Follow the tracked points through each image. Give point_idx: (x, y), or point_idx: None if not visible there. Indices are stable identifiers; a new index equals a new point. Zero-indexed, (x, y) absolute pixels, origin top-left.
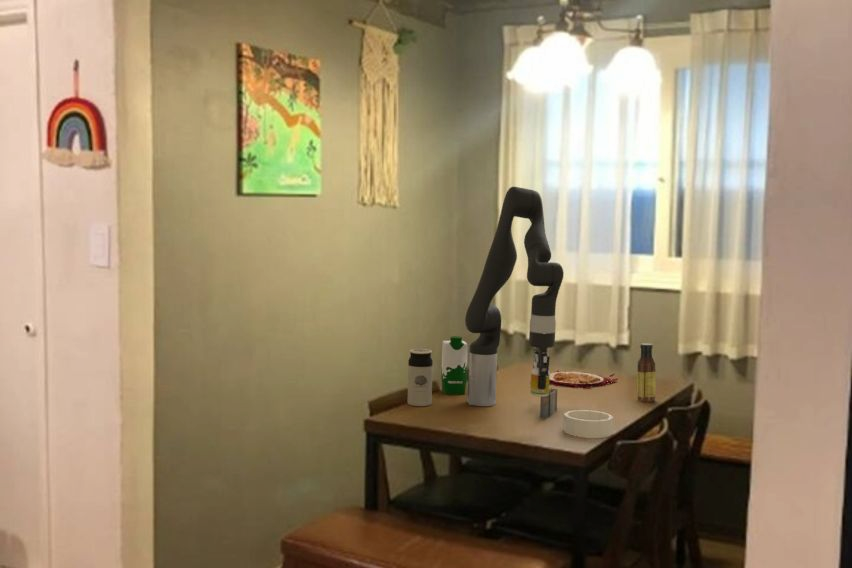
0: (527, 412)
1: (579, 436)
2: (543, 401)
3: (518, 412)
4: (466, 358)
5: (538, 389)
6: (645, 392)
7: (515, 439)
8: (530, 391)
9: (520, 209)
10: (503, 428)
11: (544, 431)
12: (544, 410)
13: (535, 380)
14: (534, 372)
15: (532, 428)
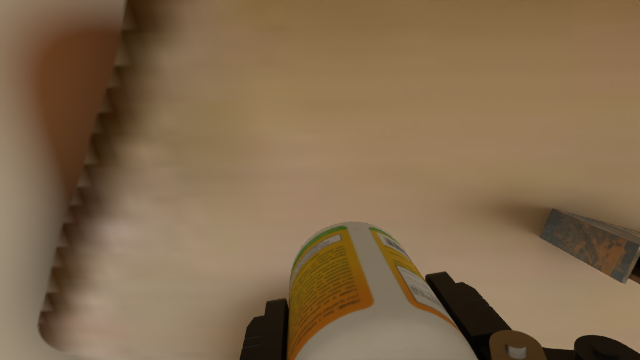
0: (633, 160)
1: None
2: (603, 245)
3: (633, 123)
4: None
5: (289, 295)
6: None
7: (177, 117)
8: (347, 227)
9: None
10: (351, 63)
11: None
12: (568, 235)
13: (298, 312)
14: (314, 356)
15: (371, 182)
